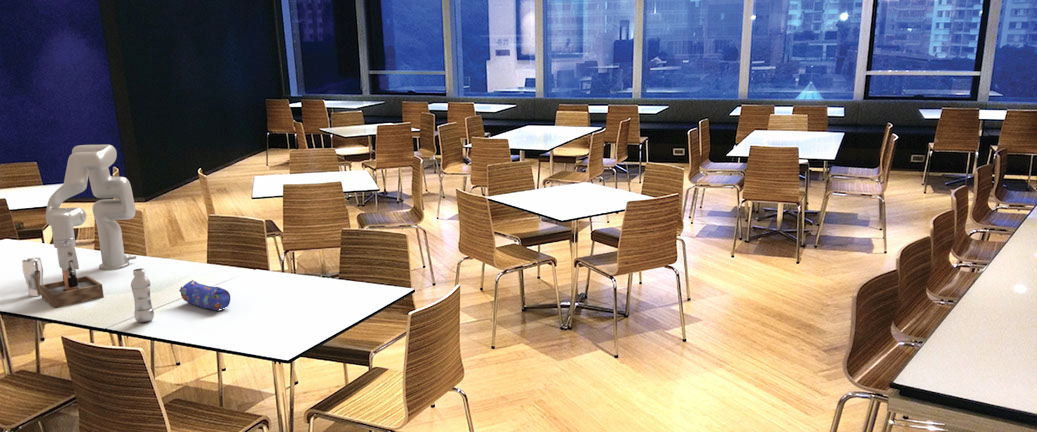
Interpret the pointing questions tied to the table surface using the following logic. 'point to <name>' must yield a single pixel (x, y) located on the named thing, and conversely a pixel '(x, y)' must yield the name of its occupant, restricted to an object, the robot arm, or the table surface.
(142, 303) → the plastic bottle
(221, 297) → the pencil case
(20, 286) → the table surface
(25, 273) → the beer glass
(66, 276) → the peg
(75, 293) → the bore box
